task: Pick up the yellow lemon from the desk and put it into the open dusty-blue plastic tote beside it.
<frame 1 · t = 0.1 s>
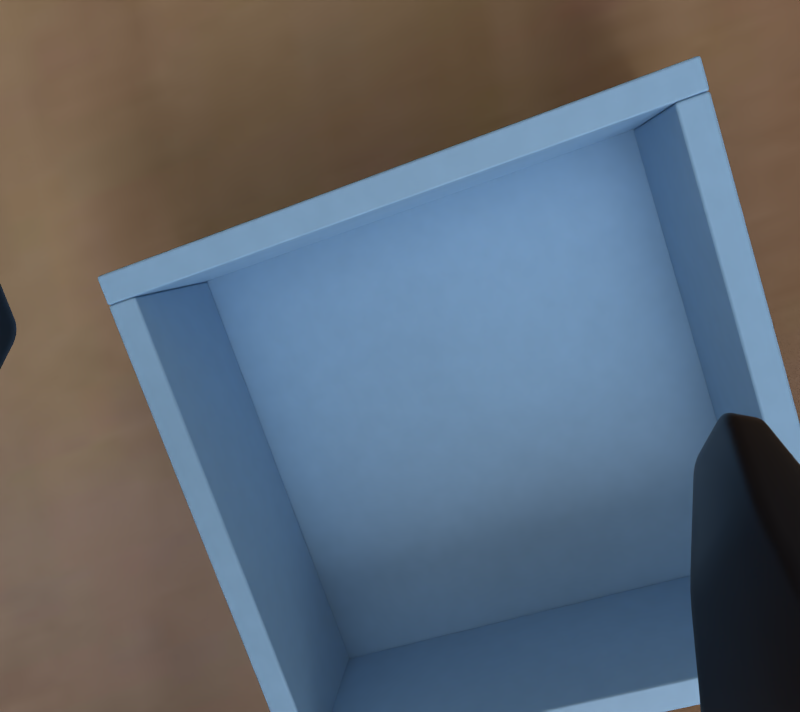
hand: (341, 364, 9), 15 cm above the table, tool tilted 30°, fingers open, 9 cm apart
tote: (478, 413, 24), on the table
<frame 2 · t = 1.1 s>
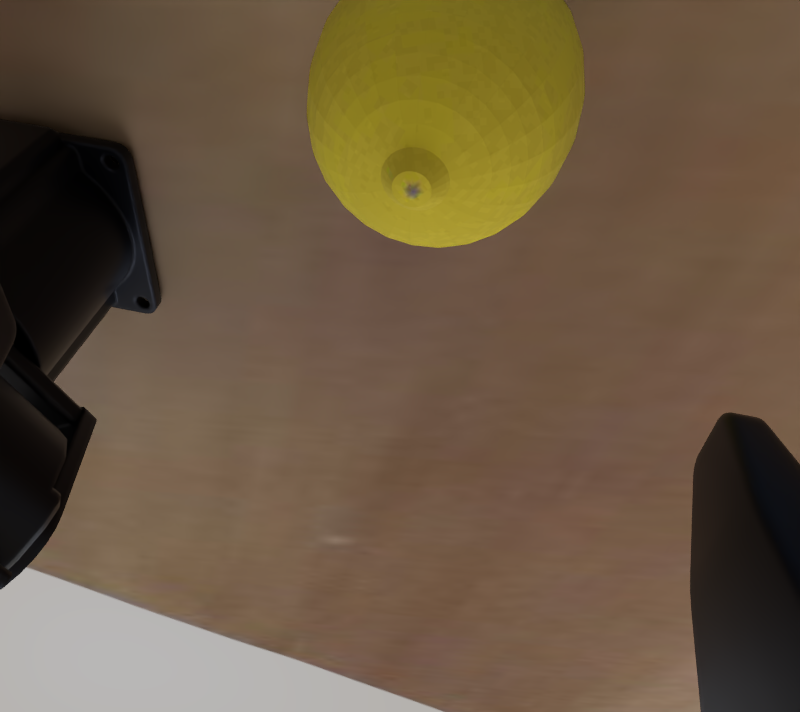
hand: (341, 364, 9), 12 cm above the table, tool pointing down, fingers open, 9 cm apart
lemon: (472, 23, 18), on the table
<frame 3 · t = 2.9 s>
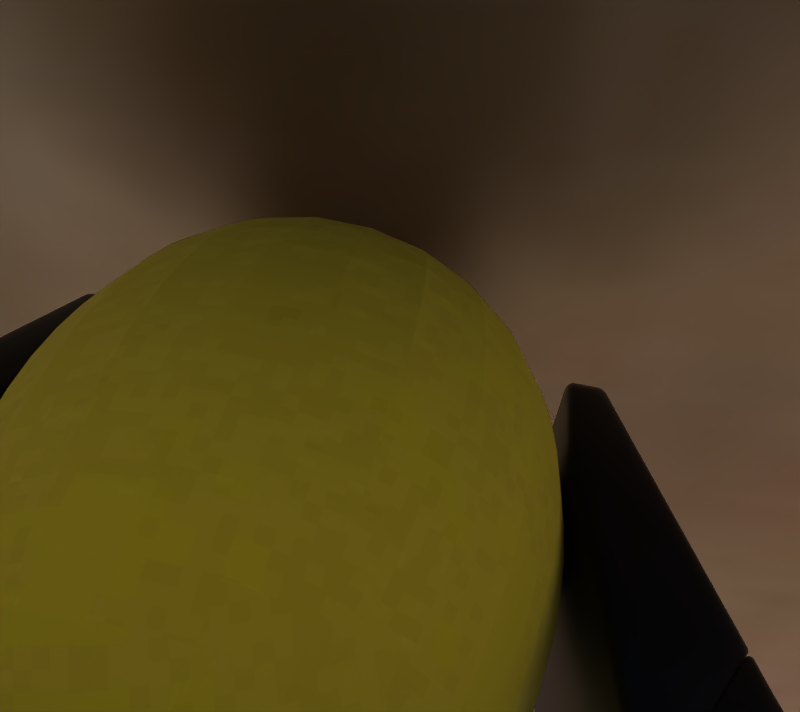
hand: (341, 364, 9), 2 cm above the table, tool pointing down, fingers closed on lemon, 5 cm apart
lemon: (373, 276, 10), on the table, touching gripper
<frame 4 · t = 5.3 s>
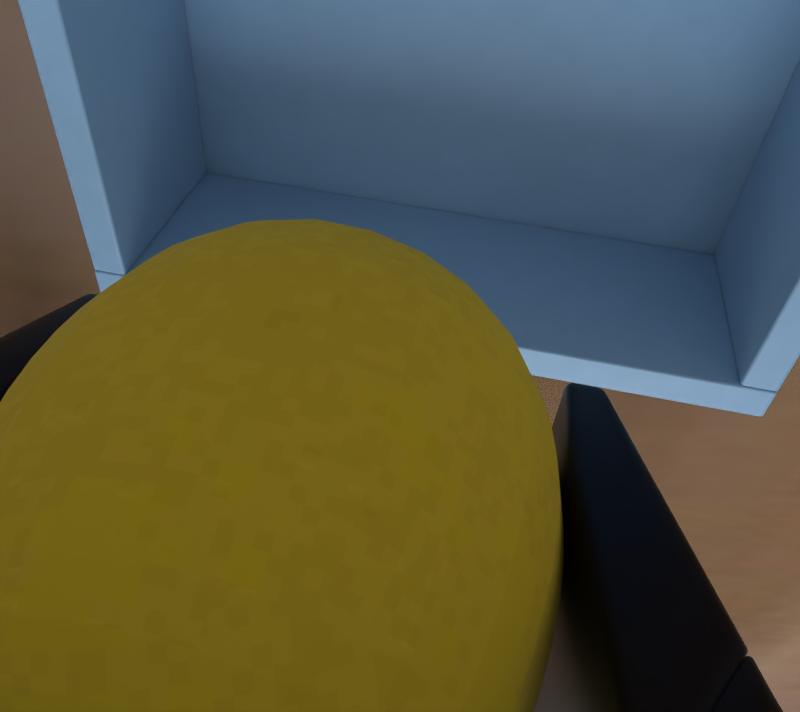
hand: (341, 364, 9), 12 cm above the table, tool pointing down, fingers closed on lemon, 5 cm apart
lemon: (373, 278, 10), point 10 cm above the table, touching gripper
when the fingers open (2 cm above the table, at t = 8.1 s): lemon stays where it is, resting on tote.
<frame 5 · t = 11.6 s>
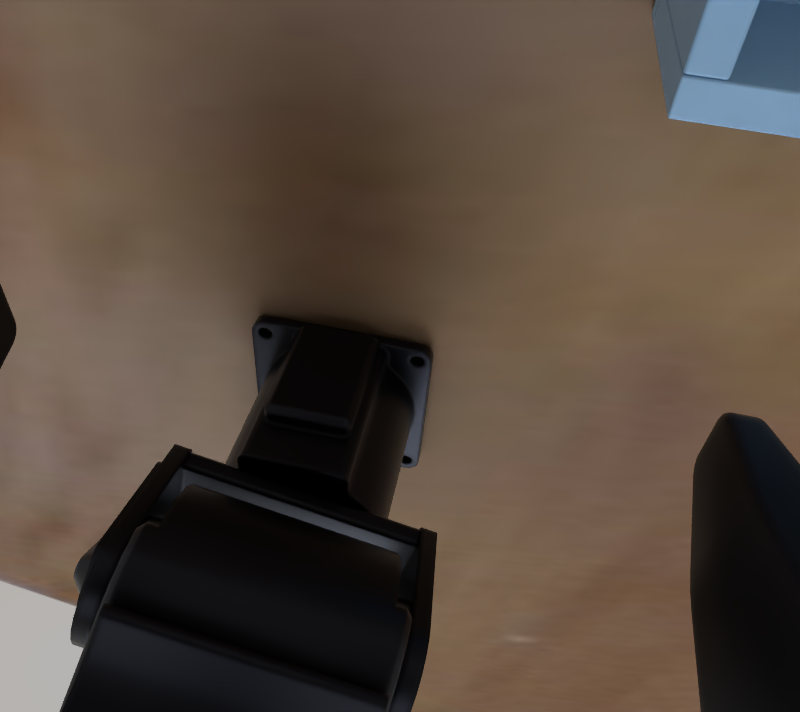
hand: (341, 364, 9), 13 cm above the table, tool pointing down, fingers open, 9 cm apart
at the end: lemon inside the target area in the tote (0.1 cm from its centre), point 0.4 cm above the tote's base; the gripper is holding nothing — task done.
